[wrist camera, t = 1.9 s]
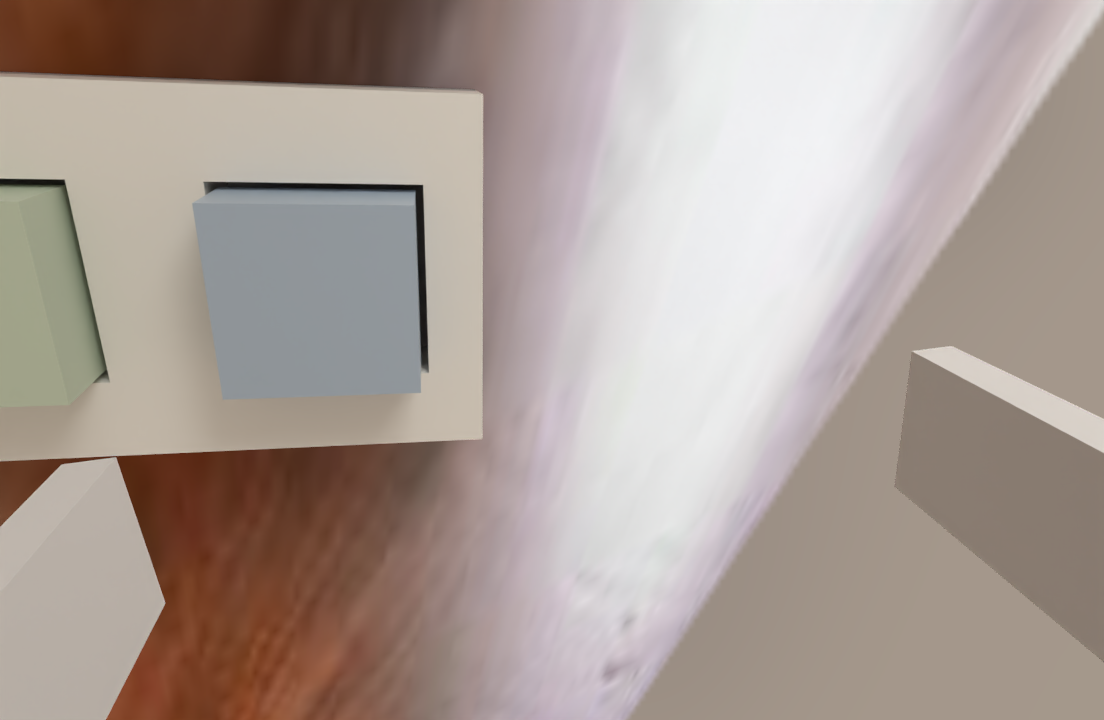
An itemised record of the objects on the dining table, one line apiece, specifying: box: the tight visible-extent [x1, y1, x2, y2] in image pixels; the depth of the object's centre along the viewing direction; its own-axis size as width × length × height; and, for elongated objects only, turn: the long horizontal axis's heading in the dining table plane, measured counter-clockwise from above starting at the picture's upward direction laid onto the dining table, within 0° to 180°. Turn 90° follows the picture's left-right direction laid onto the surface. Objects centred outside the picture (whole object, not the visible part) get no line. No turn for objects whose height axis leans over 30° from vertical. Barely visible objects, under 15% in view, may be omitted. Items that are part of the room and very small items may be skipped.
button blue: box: [192, 187, 421, 400], centre depth 26 cm, size 7×7×3 cm
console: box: [0, 72, 483, 461], centre depth 27 cm, size 14×36×5 cm, turn 88°
